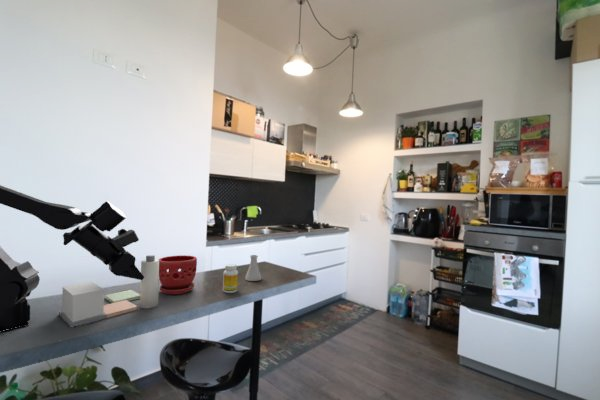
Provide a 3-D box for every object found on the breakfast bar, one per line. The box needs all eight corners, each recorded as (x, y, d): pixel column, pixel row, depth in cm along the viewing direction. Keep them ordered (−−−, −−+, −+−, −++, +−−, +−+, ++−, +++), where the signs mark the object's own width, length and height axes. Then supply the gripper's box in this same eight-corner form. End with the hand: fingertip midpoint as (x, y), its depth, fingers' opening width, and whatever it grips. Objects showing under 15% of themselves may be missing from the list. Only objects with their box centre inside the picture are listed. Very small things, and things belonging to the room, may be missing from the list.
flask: (242, 277, 125) (243, 254, 124) (258, 276, 128) (259, 253, 128) (247, 282, 118) (247, 258, 118) (264, 280, 121) (264, 257, 121)
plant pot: (203, 288, 109) (204, 256, 109) (175, 299, 97) (176, 263, 97) (178, 282, 114) (179, 252, 114) (148, 292, 103) (149, 258, 102)
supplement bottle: (221, 289, 108) (221, 264, 108) (235, 287, 111) (235, 262, 111) (224, 294, 104) (225, 267, 103) (239, 292, 106) (240, 266, 106)
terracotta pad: (106, 318, 81) (106, 314, 81) (96, 310, 86) (96, 306, 86) (137, 309, 87) (137, 306, 87) (126, 302, 92) (126, 299, 92)
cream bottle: (144, 309, 88) (145, 258, 87) (137, 305, 91) (138, 255, 91) (160, 305, 92) (162, 255, 91) (153, 301, 95) (154, 253, 94)
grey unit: (71, 327, 75) (72, 296, 75) (58, 314, 82) (59, 286, 82) (106, 318, 81) (107, 289, 81) (92, 306, 89) (92, 280, 88)
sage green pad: (114, 304, 91) (114, 301, 91) (104, 298, 96) (105, 295, 96) (141, 298, 97) (141, 295, 97) (131, 292, 102) (131, 289, 102)
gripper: (126, 224, 78) (168, 259, 86) (114, 218, 92) (151, 249, 100) (90, 257, 73) (138, 291, 81) (82, 245, 87) (124, 276, 94)
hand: (139, 275), depth 89 cm, fingers open, 9 cm apart
